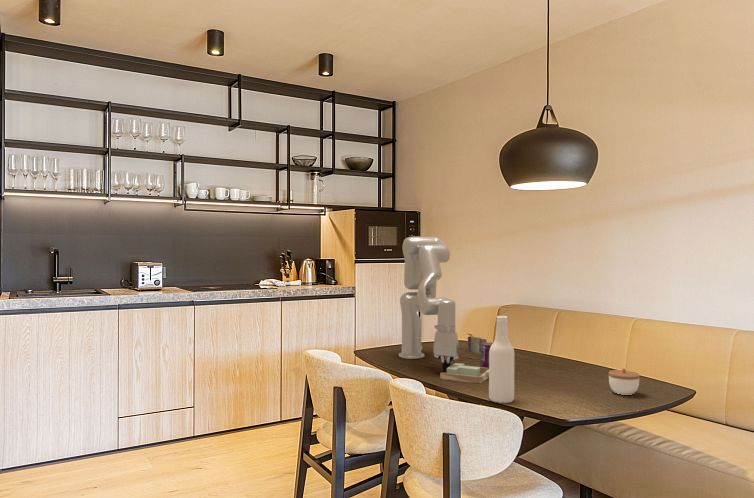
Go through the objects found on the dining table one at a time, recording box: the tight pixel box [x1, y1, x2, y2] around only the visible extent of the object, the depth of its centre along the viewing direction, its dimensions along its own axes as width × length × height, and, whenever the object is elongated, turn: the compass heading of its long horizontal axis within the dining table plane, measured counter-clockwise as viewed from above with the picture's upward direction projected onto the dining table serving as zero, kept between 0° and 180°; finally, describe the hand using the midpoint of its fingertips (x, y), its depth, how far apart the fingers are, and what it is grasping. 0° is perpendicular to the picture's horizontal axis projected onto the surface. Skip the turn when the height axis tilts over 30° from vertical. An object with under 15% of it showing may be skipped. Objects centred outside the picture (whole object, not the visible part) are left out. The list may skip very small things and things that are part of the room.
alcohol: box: [488, 315, 515, 404], centre depth 205 cm, size 9×9×30 cm
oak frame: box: [439, 365, 489, 384], centre depth 240 cm, size 18×17×2 cm
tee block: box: [447, 362, 481, 377], centre depth 241 cm, size 12×12×4 cm
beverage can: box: [479, 342, 494, 368], centre depth 250 cm, size 7×7×12 cm
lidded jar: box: [608, 368, 641, 396], centre depth 214 cm, size 11×11×9 cm
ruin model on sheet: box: [467, 333, 488, 355], centre depth 293 cm, size 11×3×10 cm, turn 32°
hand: (446, 371), depth 244 cm, fingers closed
